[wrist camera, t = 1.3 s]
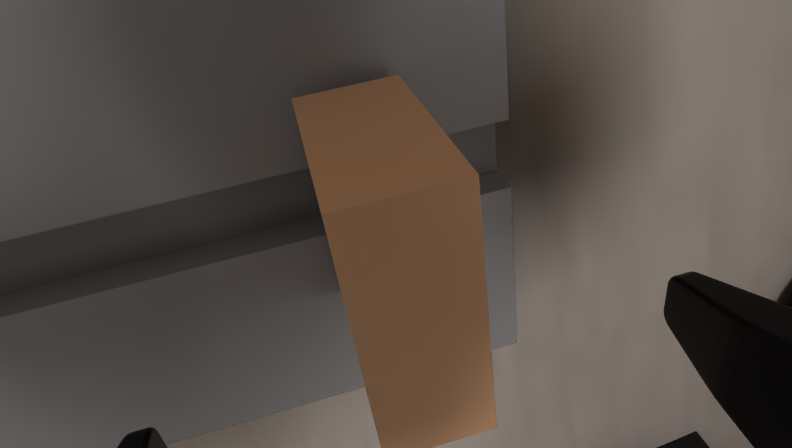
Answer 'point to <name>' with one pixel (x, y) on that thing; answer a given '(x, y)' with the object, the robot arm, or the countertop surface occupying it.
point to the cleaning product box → (687, 442)
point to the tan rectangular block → (404, 258)
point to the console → (203, 202)
